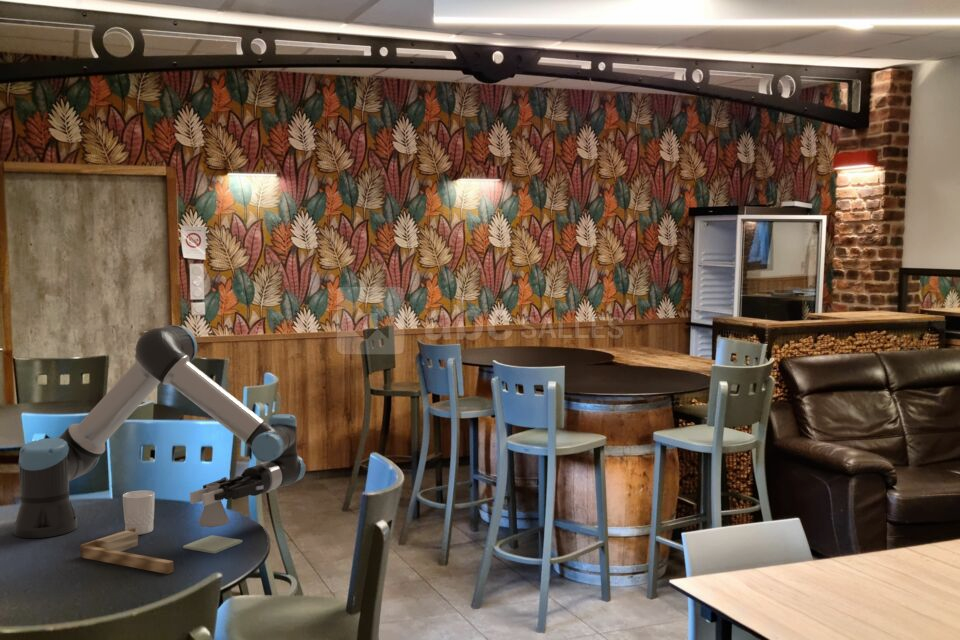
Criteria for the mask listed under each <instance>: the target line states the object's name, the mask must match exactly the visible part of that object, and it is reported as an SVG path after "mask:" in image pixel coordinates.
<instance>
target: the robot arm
mask: <svg viewBox="0 0 960 640" xmlns="http://www.w3.org/2000/svg"><path fill="white" fill-rule="evenodd" d="M197 352H198V342H197V339H196V337H195V336H194V334H193V333H192V332H191V330H189V329H188V328H187V327H184V326H182V325H177V324H176V325H174V324H172V325H171V324H170V325H166V326H162V327H157V328H156V327H155V328H152V329H149V330H147V331H146V332H145V331H144V333H143V334H141V336H140V337H139V338H138V340H137V342H136V345H135V355H134V358H135V362H134V364H132V366H131V367H130V368H128V370H127V371H126V372H125V373H124V374H123V375H122V376H121V378H119V380H118V381H117V382H116V383H115V384H114V386H113V387H111V389H110V390H109V391H108V392H107V393H106V394H105V395H104V396H103V397H102V398H101V400H99V402H98V403H97V404H96V405H95V406H94V407H93V408H92V409H91V410H90V412H89V413H87V414H86V416H85V417H84V418H83V419H82V421H80V422H79V423H72V424H70V425H69V426H68V428H66V429H65V431H64V432H63V433H62V434H61V435H60V436H59V437H50V438H49V437H48V438H40V439H38V440H33V441H30V442H27V443H25V444H24V445H22V446H21V448H20V450H19V453H18V454H19V455H18V456H19V458H18V467H19V470H18V471H19V490H20V491H19V492H20V494H19V495H20V505H19V508H18V511H17V515H16V519H15V522H14V525H13V535H14V536H15V537H19V538H24V539H42V538H50V537H56V536H61V535H65V534H68V533H72V532H73V531H74V530H77V528H78V518H77V515H76V512H75V510H74V507H73V505H72V502H71V499H70V482H71V481H73V480H75V479H77V478H80V477H83V476H85V475H86V474H89V473H90V472H91V471H92V470H93V469H95V467H96V466H97V464H98V463H99V461H100V457H101V456H102V455H103V454H104V453H105V451H106V442H107V441H108V440H109V439H110V438H111V437H112V436H113V434H115V433H116V431H117V430H119V428H120V427H121V426H122V424H124V423H125V422H126V421H127V419H128V418H129V417H130V416H131V415H132V414H133V413H134V412H135V411H136V410H137V409H138V407H139V406H140V405H141V404H142V403H143V402H144V401H145V400H146V399H147V397H148V396H150V394H151V393H152V392H153V391H154V390H155V389H156V388H157V387H158V386H159V384H160V383H161V384H162V385H165V386H166V385H168V386H169V385H170V386H172V387H173V388H174V389H175V390H177V391H178V392H180V394H182V395H183V396H184V397H185V398H187V399H188V400H189V401H191V402H192V403H193V404H195V405H196V406H197V407H198V408H199V409H200V410H202V411H203V412H204V413H206V414H207V415H209V416H210V417H211V418H213V420H215V421H216V422H217V423H219V424H220V425H222V426H223V427H224V428H225V429H226V430H227V431H229V432H230V433H232V434H233V435H234V436H236V438H238V439H240V441H242V442H243V443H244V444H246V445H247V446H248V447H249V448H250V449H251V453H252V455H253V456H254V458H255V459H257V460H258V461H260V462H263V463H258V464H257V465H254V466H251V467H247V468H246V469H244V470H243V472H242V473H241V475H239V476H235V477H233V478H228V477H226V476H223V477H222V478H220V479H218V480H216V481H213V482H212V481H211V482H210V483H206V484H203V485H202V488H200V489H198V490H195V491H192V492H190V493H189V502H190V504H191V505H194V504H198V503H200V502H201V503H202V507H204V506H206V505H209V504H212V503H215V502H218V501H221V502H222V501H223V500H230V499H231V500H234V501H235V500H238V499H241V498H245V497H248V496H252V497H255V496H258V495H259V496H260V495H263V494H264V493H267V494H269V493H270V492H271V491H272V490H276V489H278V488H282V487H285V486H289V485H292V484H294V483H297V482H298V481H300V480H301V479H302V478H303V477H304V476H305V473H306V470H307V469H306V464H305V461H304V459H303V458H302V457H301V456H300V455H298V437H297V436H298V426H297V425H298V423H297V417H296V416H295V415H294V414H289V413H278V414H273V415H270V416H269V418H268V422H266V421H265V419H263V418H261V416H259V415H258V414H257V413H255V412H254V411H252V409H250V408H249V407H248V406H247V405H245V404H244V403H243V402H241V401H240V400H239V399H238V398H236V397H235V396H233V395H232V394H231V393H230V392H229V391H228V390H226V389H225V388H223V387H222V386H221V385H220V384H218V383H217V382H216V381H215V380H213V379H212V378H211V377H210V376H208V375H207V373H205V372H203V371H202V370H201V369H199V368H198V367H197V366H196V365H194V364H193V363H192V361H193V360H194V359H195V358H196V355H197ZM211 483H219V484H220V487H219V489H218V490H215V491H212V492H208V493H207V487H206V485H207V484H211Z"/></svg>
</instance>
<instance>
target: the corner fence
mask: <svg viewBox="0 0 960 640" xmlns="http://www.w3.org/2000/svg"><path fill="white" fill-rule="evenodd" d="M124 531H131V532H136V530H135V528H130V529H127V530H126V529H124V530H121V531H119V532H116V533H112V534H109V535H106V536H103V537H100V538H97V539H94V540H91V541H88V542H85V543H82V544H80V546H79V547H80V549H79V550H80V551H79V552H80V558H83V559H86V560H87V559H88V560H93V561H99V562H103V563H108V564H109V563H110V564H114V565H119V566H125V567H130V568H135V569H140V570H146V571H151V572H155V573H160V574H165V575H170V574H172V573H174V560H169V559H164V558H157V557H152V556H149V555H148V556H147V555H141V554H136V553H131V552H125V551H115V550H110V549H104V548H99V547H97V546H96V540H98V539H101V538H104V537H108V536H111V535H114V534H118V533H121V532H124Z"/></svg>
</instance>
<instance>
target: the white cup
mask: <svg viewBox="0 0 960 640" xmlns="http://www.w3.org/2000/svg"><path fill="white" fill-rule="evenodd" d="M155 495H156V494H155V491H152V490H141V489H140V490H134V491H128V492H125V493H123V494H122V505H123V506H122V507H123V508H122V509H123V518H124V520H123V521H124V528H125V529H124V530H127V529H130V528H135V530H136V533H138V536H140V535H146V534H149V533H152V531H153V530H154V520H155V499H156V498H155Z"/></svg>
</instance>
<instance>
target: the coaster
mask: <svg viewBox="0 0 960 640" xmlns="http://www.w3.org/2000/svg"><path fill="white" fill-rule="evenodd" d="M242 543H243V539H239V538H231V537H225V536H219V535H214V534H213V535H212V534H211V535H208V536H206V537H203V538H200V539H197V540H195V541H192V542H189V543H187V544H185V545H183V547H182V548H183V549H186V550H192V551H197V552H198V551H199V552H204V553H208V554H209V553H210V554H217V553H219V552H222V551H224V550H228V549H229V548H231V547H234V546H237V545H240V544H242Z"/></svg>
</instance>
